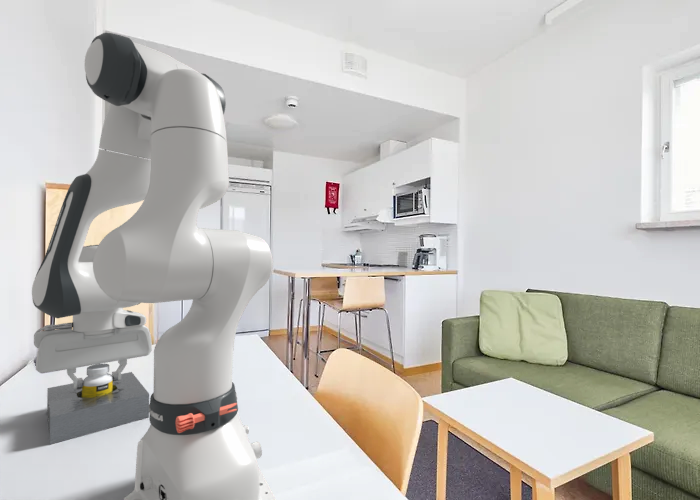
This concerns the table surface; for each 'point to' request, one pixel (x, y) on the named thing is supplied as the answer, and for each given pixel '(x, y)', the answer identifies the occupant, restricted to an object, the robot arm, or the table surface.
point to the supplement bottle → (97, 381)
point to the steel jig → (94, 408)
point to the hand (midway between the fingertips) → (97, 383)
